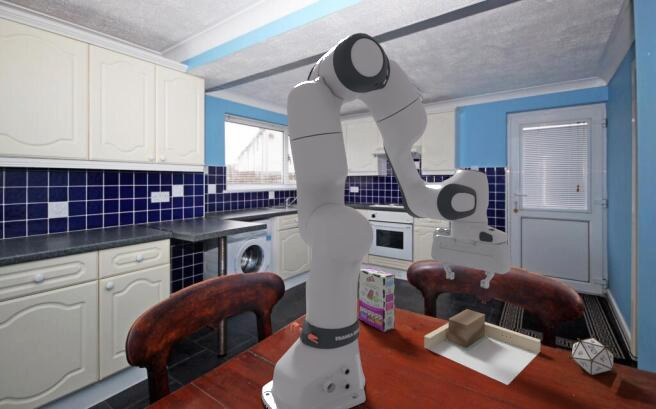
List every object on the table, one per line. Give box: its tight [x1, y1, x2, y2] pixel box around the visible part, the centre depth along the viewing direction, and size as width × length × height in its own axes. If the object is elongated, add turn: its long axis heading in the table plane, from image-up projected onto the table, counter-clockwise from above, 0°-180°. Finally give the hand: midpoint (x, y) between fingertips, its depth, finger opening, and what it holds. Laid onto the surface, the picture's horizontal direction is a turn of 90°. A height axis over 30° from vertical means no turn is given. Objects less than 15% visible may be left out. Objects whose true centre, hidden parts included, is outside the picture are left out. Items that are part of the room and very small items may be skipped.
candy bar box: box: [358, 267, 396, 333], centre depth 96 cm, size 11×5×16 cm, turn 36°
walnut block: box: [448, 308, 486, 348], centre depth 85 cm, size 5×10×6 cm, turn 130°
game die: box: [567, 333, 618, 376], centre depth 71 cm, size 9×8×10 cm
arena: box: [423, 321, 541, 386], centre depth 80 cm, size 20×20×4 cm
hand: (466, 282), depth 84 cm, fingers open, 8 cm apart
